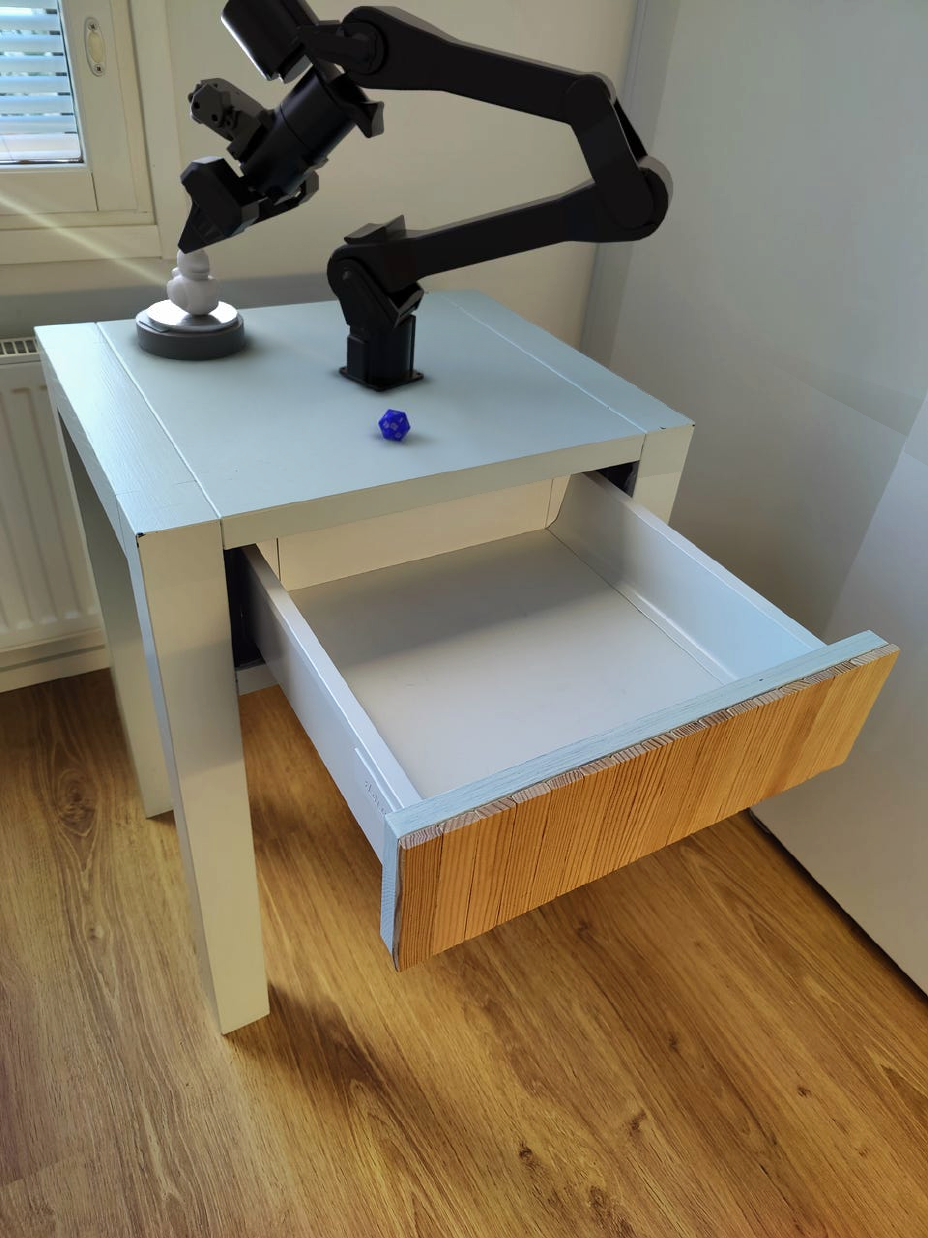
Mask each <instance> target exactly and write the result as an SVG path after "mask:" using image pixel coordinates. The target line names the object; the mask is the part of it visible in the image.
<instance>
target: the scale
mask: <svg viewBox="0 0 928 1238" xmlns="http://www.w3.org/2000/svg"><path fill="white" fill-rule="evenodd" d="M244 320H245V319H244V317H243V316H242V315H241V313H239V312H238V310H237V308H235V307H234V306H233V305H231V304H229V303H226V302H223V301H221V300H220V301H219V306H218V308H217V309H216V310H214V311H213V312H211V313H208V314H204V315H193V314H189V313H187V312H185V311H183V310H181V309H180V308H179V307H177V306H175V305H174V304H173V303H172V302H171V301H170V300H169V299H167V300H163V301H159V302H156V303H154V304H152V305H151V306H150V307H148V308H146V309H144V310H142V311H140V312H139V313H138V314H137V315H136V316H135V328H136V333H137V343H138V345H139V346H140V347H141V349H142V350H144V351H146V352H147V353H150V354H152V355H155V356H158V357H161V358H167V359H173V360H184V361H199V360H200V361H201V360H211V359H217V358H218V359H219V358H223V357H226V356H229V355H232V354H234V353H237V352H238V351H240V350H241V349H243V348H244V346H245V343H246V337H245V321H244Z"/></svg>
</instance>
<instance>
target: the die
mask: <svg viewBox="0 0 928 1238" xmlns="http://www.w3.org/2000/svg"><path fill="white" fill-rule="evenodd" d="M407 416H408V415H407V414H406V412H404V411H400V410H395V409H391V408H389V409H387V410H386V412H385V413H384V414H383V416H381V418H380V419H379V420H378V422H377V423H378V426H379V429H380V432H381V434H382V437H383V439H386V440H391V441H396V442H402V440H403V439H404V438H405V436H407V434H408V433H409V431H410V430H411V425H410V422H409V419H408V417H407Z"/></svg>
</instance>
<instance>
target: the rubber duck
mask: <svg viewBox="0 0 928 1238" xmlns="http://www.w3.org/2000/svg"><path fill="white" fill-rule="evenodd" d="M209 258H210V257H209V255H208V254H207V252H206V251H205V250H204V248H201V249H199V250H196V251H193V252H191V253H188V254H184V253H183V252H182V251H181V250H180V249H179V250H178V252H177V253H176V262H177V263H176V264H177V267H175V268H173V270H172V271H171V275H172V277H173V279H170V280H169V281H168V282H167V284H166V291H167V297H168V300H170V301H171V302H172V303H173V304H174V305H175V306H177V307H179V308H180V309H181V310H183V311H185V312H187V313H189V314H193V315H204V314H208V313H211V312H213V311H214V310H216V309H217V308H218V306H219V301H220V302H221V298H222V286H221V283H220V281H219V280H218V279H217V278H216V277H214V276H212V275H210V272H211V265H210V259H209Z"/></svg>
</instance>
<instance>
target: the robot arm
mask: <svg viewBox="0 0 928 1238" xmlns="http://www.w3.org/2000/svg"><path fill="white" fill-rule="evenodd" d="M220 19H221V22H222V24H224V26H225V28H226V29H227V30H228V31H229V33H230V34H231V35H232V36H233V38H234V39H235V40H236V42H237V43H238V45H239V46H240V47H241V48H242V50H243V52H245V54H246V55H247V56H248V58H250V60H251V62H252V63H253V65H254V66H255V67H256V68H257V70H258V71H259V72H260V73H261V75H262V77H264V79H265V80H266V81H268V82H272V81H275V80H277V79H280V80H281V82H282V83H283V84H284V85H287V84H290V83H291V82H293V81H295V80H296V79H297V78H299V77H300V76H301V75H302V74H303V73H304V72H305V71H306V70H307V69H308V70H307V71H306V72H305V73H304V74H303V75H302V77H301V78H300V79H299V80H298V81H297V82H296V83H295V85H294V86H293V87H292V88H291V89H290V91H289V92H288V93H287V94H286V95H285V96H284V97H283V98H282V100H281V101H280V102H279V103H278V104H277V106H276V107H274V108H270V109H267V108H265V107H264V106H263V105H262V104H261V103H260V102H259V101H258V100H256V99H255V98H253V97H252V96H250V95H249V94H248V93H246V92H245V91H243V90H242V89H240V88H239V87H238V86H235V84H233V83H231V81H229V80H226V79H225V78H221V77H213V78H205V79H201V80H200V81H199V83H196V85H195V88H194V90H193V91H192V92H189V93H188V94H187V101H188V102H189V104H190V107H189V109H190V114H189V115H190V118H191V119H192V120H193V121H194V122H195V123H197V124H199V125H204V126H206V127H207V128H208V129H209V130H211V131H213V132H214V133H216V134H217V135H218V136H220V137H221V138H223V139H225V140H226V141H228V142H230V143H229V144H228V145H227V147H226V148H225V150H226V151H227V152H228V154H229V155H230V156H231V157H232V159H233V160H234V161H237V162H238V163H239V164H238V168H239V170H240V171H241V173H242V175H241V176H239V175H238V174H237V173H236V171H235V170H234V169H233V167H232V166H231V165H230V163H229V162H228V161H227V159H226V158H224V157H220V156H214V155H209V156H206V157H202V158H199V159H194V160H191V161H190V163H189V164H188V165H187V166H186V168H185V169H184V170H183V171H182V173H180V174H179V180H180V181H179V182H180V184H181V185H182V186H183V187H184V189H185V191H186V193H187V194H188V195H189V197H190V201H191V205H190V209H189V212H188V215H187V217H186V221H185V223H184V226H183V228H182V230H181V233H180V236H179V239H178V241H177V243H176V244H177V245H176V246H177V248H178V249H179V250H181V251H182V252H183V253H184V254H188V253H191V252H193V251H196V250H199V249H201V248H203V249H204V248H206V247H209V246H212V245H215V244H217V243H220V242H223V241H226V240H228V239H231V238H233V237H236V236H238V235H240V234H242V233H245V231H246V229H248V228H249V227H252V226H255V225H257V224H260V223H262V222H265V221H267V220H270V219H272V218H275V217H277V216H279V215H283V214H286V213H287V212H290V211H292V210H294V209H296V208H299V207H300V206H301V205H302V204H305V203H307V202H309V201H310V200H311V199H312V198H313V197H314V195H315V194H316V193H317V192H318V191H320V175H319V174H318V173H317V171H316V170H319V169H321V168H323V167H324V166H325V165H326V164H327V163H328V162H329V161H330V159H329V158H328V156H329V155H330V154H331V153H332V152H333V151H334V150H335V149H336V148H337V147H338V146H339V144H340V143H341V142H342V141H343V140H345V138H346V137H347V136H348V135H349V134H350V133H351V132H352V131H353V130H354V129H355V128H356V127H357V128H358V130H359V131H360V132H361V134H362V135H363V136H364V137H365V139H372V138H374V137H377V136H380V135H383V134H384V132H385V123H384V122H385V120H384V109H385V107H386V105H385V102H384V100H373V99H371V98H369V96H368V95H367V93H366V92H365V91H364V89H365V90H381V91H402V92H403V91H406V92H407V91H409V92H410V91H412V92H413V91H423V92H425V91H426V92H427V91H428V92H429V91H431V92H432V91H433V92H444V93H447V94H451V95H454V96H455V95H456V96H459V97H463V98H467V99H471V100H474V101H479V102H482V103H486V104H489V105H493V106H498V107H501V108H505V109H508V110H513V111H516V112H520V113H524V114H528V115H531V116H534V117H535V116H536V117H539V118H543V119H547V120H550V121H554V122H558V123H562V124H566V125H568V126H570V128H571V130H572V132H573V133H574V136H575V137H576V141H577V143H578V145H579V148H580V151H581V153H582V155H583V158H584V161H585V164H586V166H587V169H588V171H589V173H590V176H591V177H590V178H588V179H586V180H584V181H583V182H581V183H579V184H577V185H575V186H573V187H571V188H569V189H568V190H565V191H562V192H560V193H556V194H552V195H549V196H545V197H542V198H538V199H533V200H530V201H527V202H523V203H519V204H515V205H512V206H508V207H505V208H501V209H497V210H494V211H490V212H486V213H482V214H479V215H475V216H472V217H467V218H464V219H461V220H458V221H453V222H450V223H446V224H442V225H438V226H436V227H431V228H428V229H427V228H426V229H409V228H406V220H405V215H404V214H399V215H398V216H396V217H394V218H392V219H390V220H389V221H386V222H384V223H383V222H382V223H372V222H368V223H366V224H365V225H364V224H363V226H361V227H358V228H357V229H355V230H354V231H352V232H351V233H349V234H347V235H345V236H344V237H343V241H344V242H345V243H344V244H342V245H341V246H338V247H336V249H334V250H333V251H332V252H331V254H330V257H329V258H328V261H327V263H326V277H327V283H328V285H329V287H330V289H331V292H332V293H333V294H334V295H335V296H336V298H337V299H338V301H339V302H338V303H339V305H340V308H341V311H342V314H343V317H344V320H345V323H346V325H347V326H349V334H347V336H346V365H345V366H340V367H338V374H340V375H342V376H344V377H346V378H347V379H350V380H352V381H354V382H356V383H359V384H361V385H363V386H364V387H366V388H369V389H371V390H373V391H375V392H378V393H383V392H386V391H390V390H394V389H397V388H400V387H403V386H407V385H410V384H412V383H415V382H419V381H422V380H424V377H425V374H424V373H423V372H420V371H418V370H416V369H415V368H414V363H415V345H416V343H415V342H416V327H417V315H415V314H413V312H414V311H417V310H418V309H419V308H420V305H421V303H422V300H423V298H424V295H425V289H424V288H423V286H422V285H421V284H420V283H419V281H420V280H422V279H424V278H426V277H430V276H434V275H437V274H438V275H439V274H442V273H446V272H449V271H453V270H457V269H461V268H466V267H469V266H475V265H477V264H481V263H485V262H490V261H494V260H497V259H501V258H506V257H510V256H513V255H518V254H521V253H526V252H529V251H534V250H537V249H542V248H546V247H549V246H554V245H557V244H561V243H565V242H566V243H567V242H568V243H569V242H576V243H593V244H612V243H629V242H636V241H637V242H639V241H641V240H644V239H646V238H648V237H650V236H651V235H653V234H654V233H656V232H657V230H658V229H659V228H660V227H661V225H662V224H663V222H664V220H665V219H666V216H667V214H668V211H669V208H670V206H671V202H672V200H673V197H674V182H673V181H674V180H673V178H672V174H671V172H670V170H669V169H668V168H667V166H666V165H665V163H663V162H661V161H660V160H659V159H657V158H656V157H654V156H651V155H649V153H648V151H647V149H646V147H645V145H644V143H643V141H642V138H641V137H640V135H639V133H638V131H637V129H636V128H635V126H634V125H633V122H632V121H631V119H630V118H629V116H628V114H627V112H626V110H625V109H624V107H623V105H622V103H621V102H620V99H619V98H618V95H617V91H616V87H615V85H614V83H613V81H612V80H611V79H610V77H609V76H607V75H606V74H604V73H602V72H600V71H583V70H578V69H576V68H575V69H574V68H571V67H568V66H563V65H559V64H555V63H551V62H547V61H543V60H539V59H536V58H531V57H527V56H523V55H519V54H515V53H511V52H508V51H505V50H500V49H496V48H492V47H488V46H485V45H480V44H476V43H472V42H468V41H465V40H461V39H459V38H457V37H455V36H453V35H451V34H449V33H447V32H445V31H444V30H442V29H440V28H439V27H437V26H435V24H432V23H430V22H429V21H427V20H425V19H422V18H421V17H419V16H416V15H414V14H413V13H410V12H408V11H406V10H404V9H402V8H400V7H398V6H394V5H359V6H356V7H354V8H353V9H351V10H350V11H349V12H348V13H347V14H346V15H345V16H344V17H343V18H342V21H341V20H340V19H323V20H322V19H321V20H320V18H319V17H318V15H317V14H316V13H315V12H314V9H312V7H311V6H310V5H309V2H307V0H227V2H226V3H225V5H224V7H223V9H222V12H221V15H220ZM310 65H311V66H310ZM337 66H339V67H340V68H341V69H342V71H343V72H342V71H341V70H340V69H339V68H338V67H337ZM309 67H310V68H309Z"/></svg>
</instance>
